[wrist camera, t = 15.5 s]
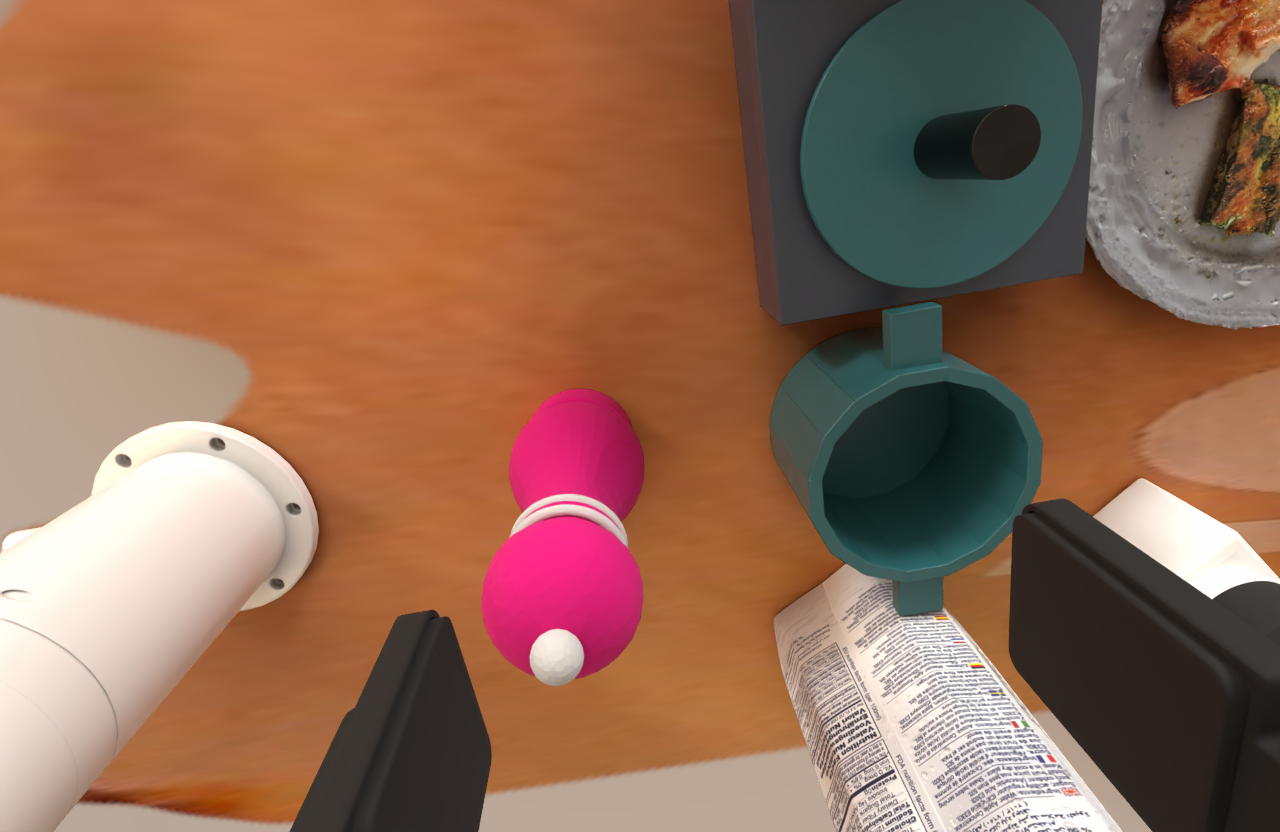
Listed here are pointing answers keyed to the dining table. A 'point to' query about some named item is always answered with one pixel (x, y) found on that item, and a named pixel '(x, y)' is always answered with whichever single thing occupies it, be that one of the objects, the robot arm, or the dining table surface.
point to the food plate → (1190, 157)
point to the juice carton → (918, 722)
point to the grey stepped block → (772, 133)
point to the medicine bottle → (1198, 552)
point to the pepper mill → (568, 542)
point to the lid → (941, 139)
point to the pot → (905, 453)
